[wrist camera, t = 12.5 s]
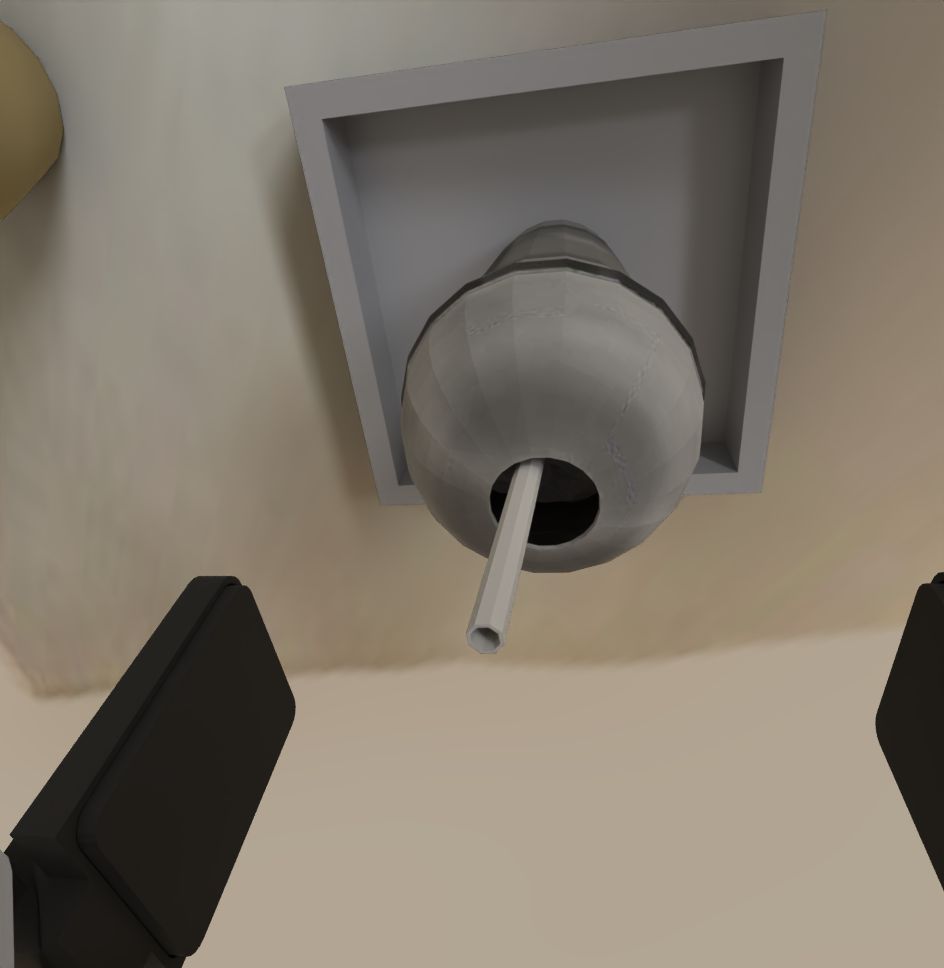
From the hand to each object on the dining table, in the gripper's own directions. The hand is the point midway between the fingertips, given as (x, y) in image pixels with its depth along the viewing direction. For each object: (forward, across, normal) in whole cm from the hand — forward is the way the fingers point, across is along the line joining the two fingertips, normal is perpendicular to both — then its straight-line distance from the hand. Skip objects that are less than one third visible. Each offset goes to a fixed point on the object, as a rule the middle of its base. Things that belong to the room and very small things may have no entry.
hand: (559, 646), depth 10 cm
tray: (+20, +1, +1) cm, 20 cm away
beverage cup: (+19, 0, 0) cm, 19 cm away
